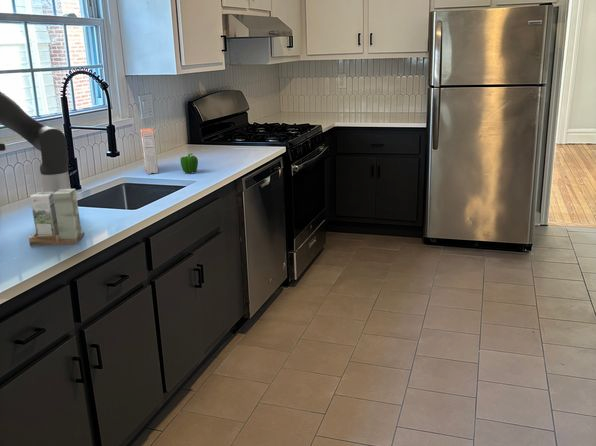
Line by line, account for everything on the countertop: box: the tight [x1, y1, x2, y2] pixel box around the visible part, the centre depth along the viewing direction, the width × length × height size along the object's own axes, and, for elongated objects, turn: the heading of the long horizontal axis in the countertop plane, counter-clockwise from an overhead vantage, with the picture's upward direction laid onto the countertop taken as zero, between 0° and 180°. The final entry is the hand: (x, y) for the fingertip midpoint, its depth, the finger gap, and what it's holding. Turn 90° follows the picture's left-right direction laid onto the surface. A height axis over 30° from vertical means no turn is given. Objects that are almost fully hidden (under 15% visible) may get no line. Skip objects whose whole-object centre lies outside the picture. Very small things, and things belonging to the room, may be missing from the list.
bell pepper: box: [179, 152, 199, 174], centre depth 285 cm, size 8×8×10 cm
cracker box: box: [140, 127, 159, 175], centre depth 289 cm, size 14×6×21 cm, turn 17°
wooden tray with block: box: [28, 188, 85, 247], centre depth 187 cm, size 9×14×16 cm, turn 93°
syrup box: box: [29, 191, 59, 237], centre depth 186 cm, size 6×6×14 cm
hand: (0, 149), depth 181 cm, fingers open, 8 cm apart
